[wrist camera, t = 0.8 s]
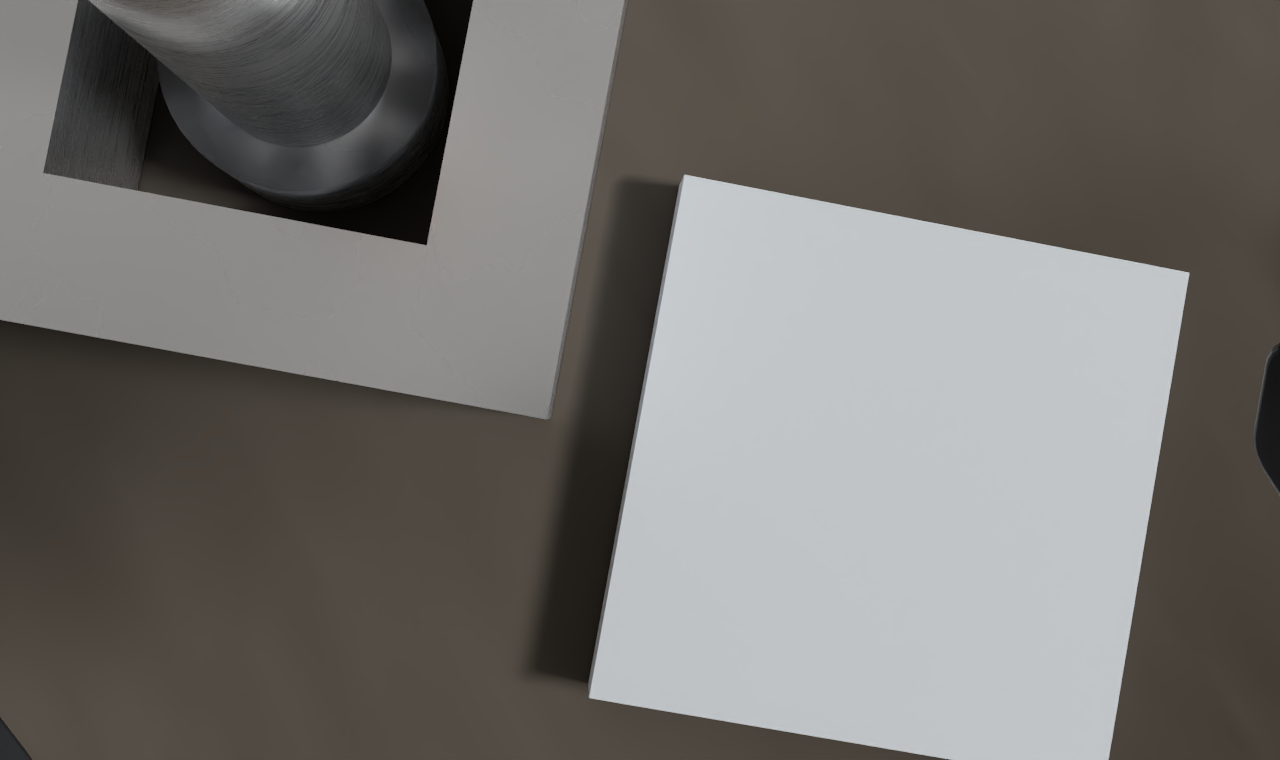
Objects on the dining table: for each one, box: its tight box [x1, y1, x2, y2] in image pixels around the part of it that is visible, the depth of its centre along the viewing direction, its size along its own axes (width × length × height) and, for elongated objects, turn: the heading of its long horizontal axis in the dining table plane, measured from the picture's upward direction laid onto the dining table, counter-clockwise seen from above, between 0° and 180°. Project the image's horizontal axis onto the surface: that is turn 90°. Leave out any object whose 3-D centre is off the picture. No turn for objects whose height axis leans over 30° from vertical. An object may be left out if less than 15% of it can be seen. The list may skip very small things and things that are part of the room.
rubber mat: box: [588, 175, 1189, 760], centre depth 21 cm, size 9×9×1 cm
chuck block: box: [0, 0, 628, 419], centre depth 19 cm, size 10×10×4 cm
